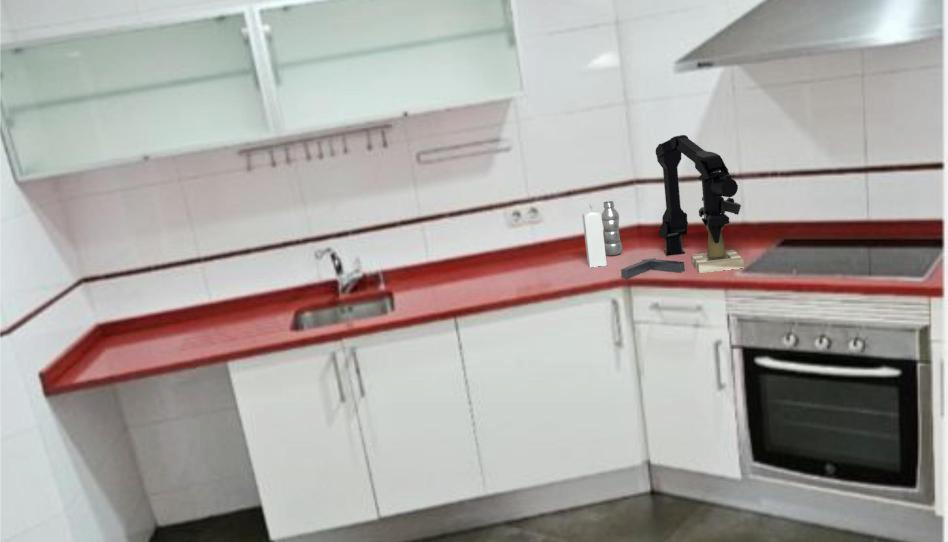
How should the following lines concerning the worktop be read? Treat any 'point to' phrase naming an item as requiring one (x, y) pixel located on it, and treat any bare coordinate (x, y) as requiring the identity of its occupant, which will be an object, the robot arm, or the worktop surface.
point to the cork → (715, 246)
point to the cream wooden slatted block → (717, 262)
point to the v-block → (652, 267)
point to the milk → (594, 238)
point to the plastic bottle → (611, 229)
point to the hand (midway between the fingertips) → (715, 241)
